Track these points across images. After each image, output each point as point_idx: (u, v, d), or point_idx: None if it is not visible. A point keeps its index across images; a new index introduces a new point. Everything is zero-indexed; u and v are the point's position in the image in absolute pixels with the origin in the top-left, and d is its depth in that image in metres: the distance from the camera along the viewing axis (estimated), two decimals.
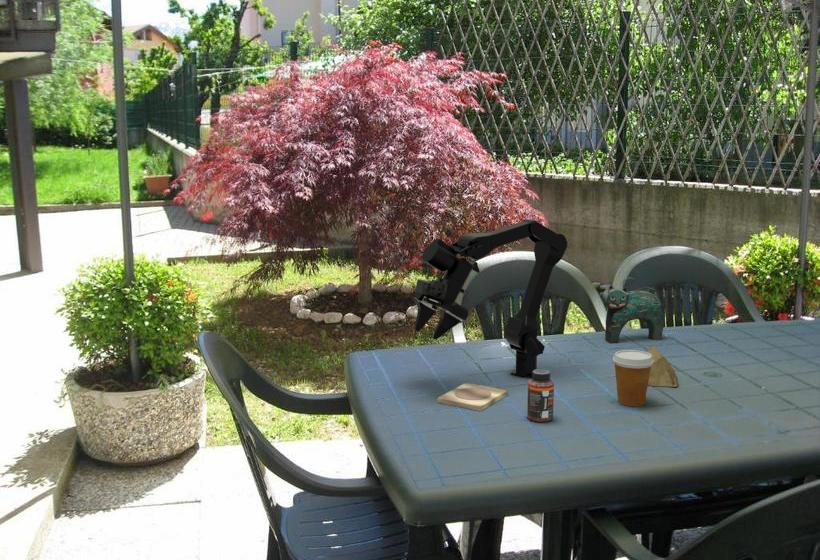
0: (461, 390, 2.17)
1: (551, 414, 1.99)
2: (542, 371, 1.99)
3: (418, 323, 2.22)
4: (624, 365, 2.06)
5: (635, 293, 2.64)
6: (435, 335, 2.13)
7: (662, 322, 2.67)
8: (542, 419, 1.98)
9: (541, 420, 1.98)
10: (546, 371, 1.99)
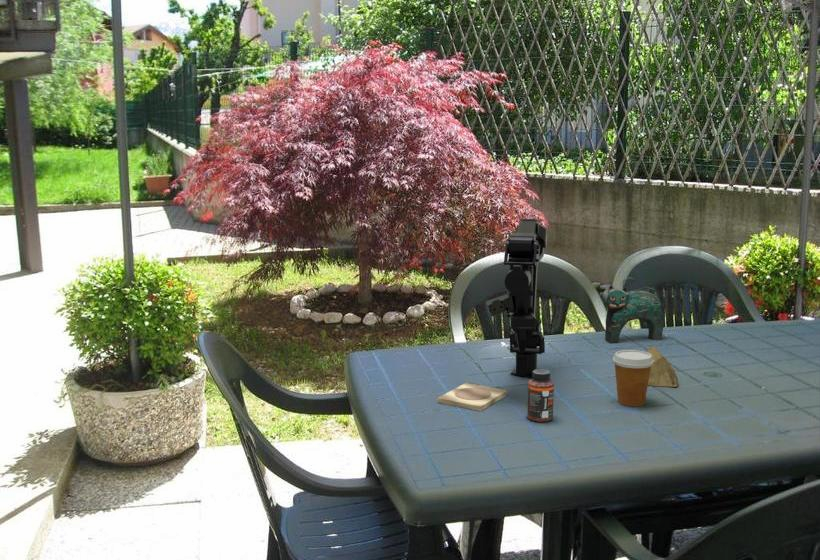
0: (461, 390, 2.17)
1: (551, 414, 1.99)
2: (542, 371, 1.99)
3: (516, 335, 2.21)
4: (624, 365, 2.06)
5: (635, 293, 2.64)
6: (520, 349, 2.11)
7: (662, 322, 2.67)
8: (542, 419, 1.98)
9: (541, 420, 1.98)
10: (546, 371, 1.99)
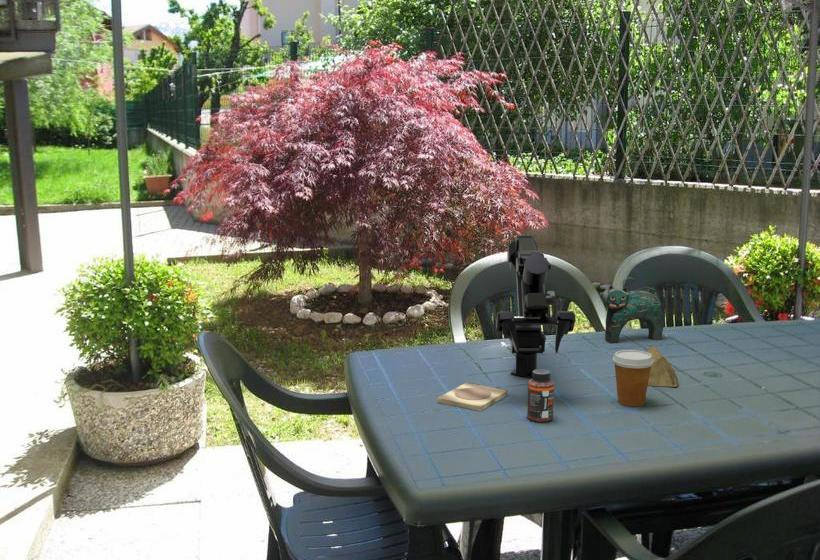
0: (461, 390, 2.17)
1: (551, 414, 1.99)
2: (542, 371, 1.99)
3: (518, 343, 2.08)
4: (624, 365, 2.06)
5: (635, 293, 2.64)
6: (558, 348, 2.07)
7: (662, 322, 2.67)
8: (542, 419, 1.98)
9: (541, 420, 1.98)
10: (546, 371, 1.99)
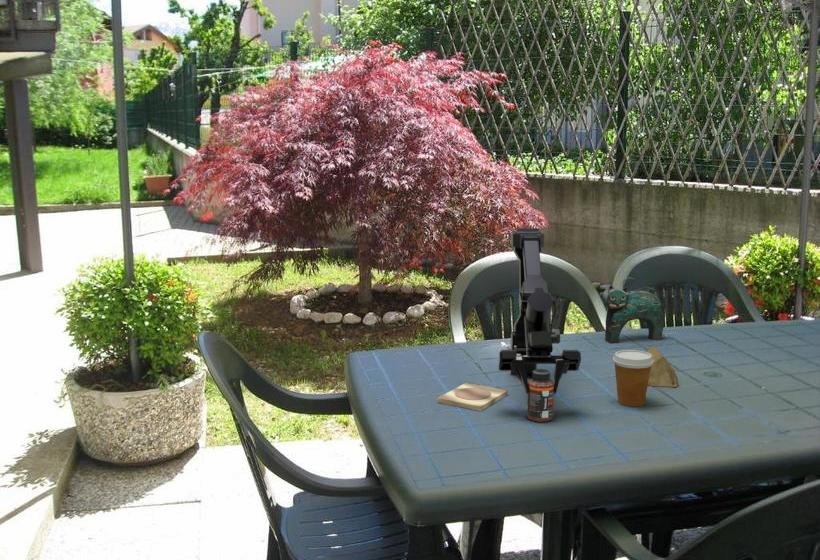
0: (461, 390, 2.17)
1: (551, 414, 1.99)
2: (542, 371, 1.99)
3: (527, 384, 1.99)
4: (624, 365, 2.06)
5: (635, 293, 2.64)
6: None
7: (662, 322, 2.67)
8: (542, 419, 1.98)
9: (541, 420, 1.98)
10: (546, 371, 1.99)
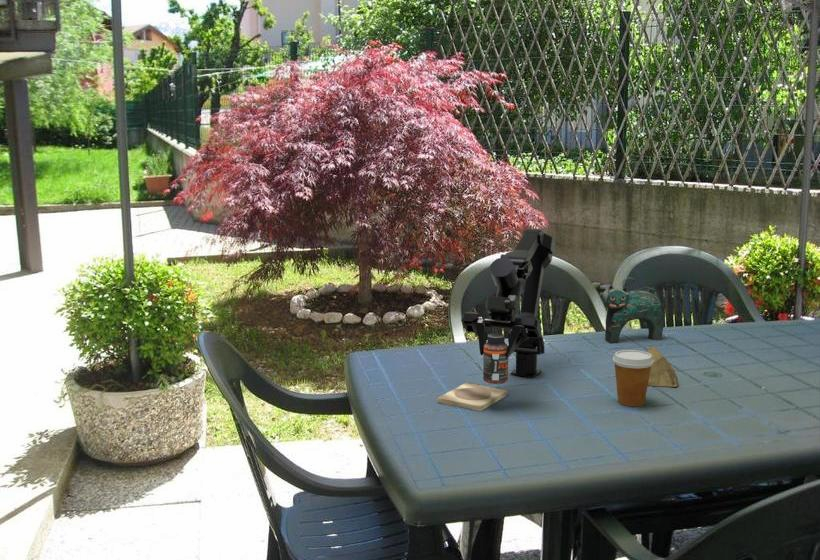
0: (461, 390, 2.17)
1: (503, 377, 2.05)
2: (496, 335, 2.05)
3: (483, 346, 2.06)
4: (624, 365, 2.06)
5: (635, 293, 2.64)
6: (509, 353, 2.04)
7: (662, 322, 2.67)
8: (492, 381, 2.05)
9: (492, 382, 2.05)
10: (500, 335, 2.05)
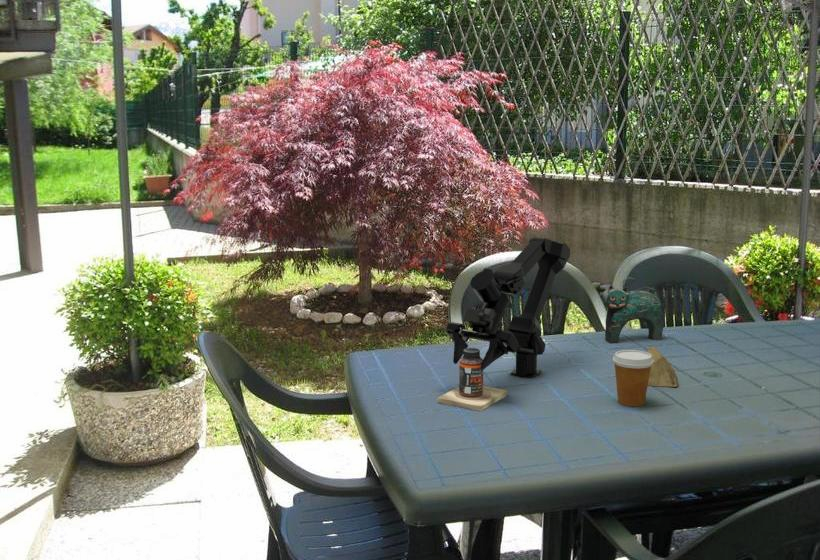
0: None
1: (475, 391, 2.11)
2: (472, 350, 2.12)
3: (457, 355, 2.14)
4: (624, 365, 2.06)
5: (635, 293, 2.64)
6: (484, 365, 2.09)
7: (662, 322, 2.67)
8: (465, 394, 2.11)
9: (464, 395, 2.12)
10: (475, 350, 2.11)
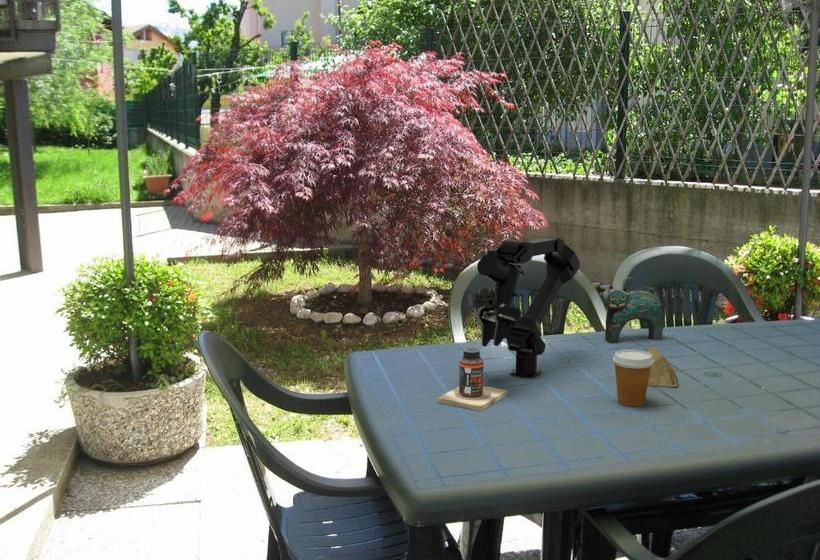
0: None
1: (475, 391, 2.11)
2: (472, 350, 2.12)
3: (484, 338, 2.25)
4: (624, 365, 2.06)
5: (635, 293, 2.64)
6: (495, 341, 2.15)
7: (662, 322, 2.67)
8: (465, 394, 2.11)
9: (464, 395, 2.12)
10: (475, 350, 2.11)
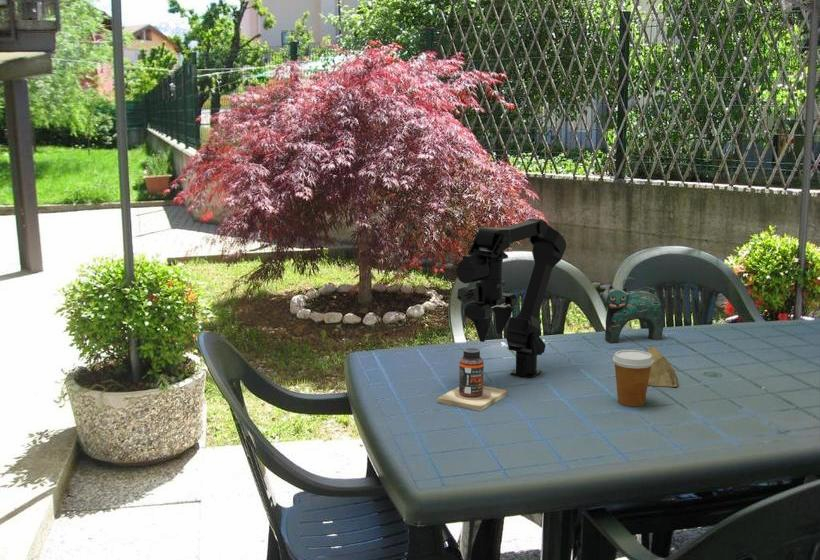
0: None
1: (475, 391, 2.11)
2: (472, 350, 2.12)
3: (497, 326, 2.26)
4: (624, 365, 2.06)
5: (635, 293, 2.64)
6: (479, 338, 2.18)
7: (662, 322, 2.67)
8: (465, 394, 2.11)
9: (464, 395, 2.12)
10: (475, 350, 2.11)
